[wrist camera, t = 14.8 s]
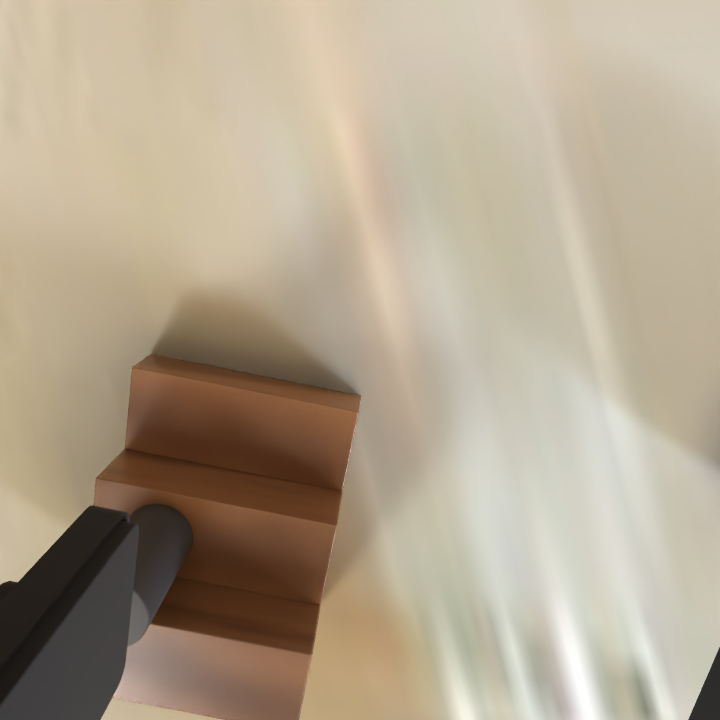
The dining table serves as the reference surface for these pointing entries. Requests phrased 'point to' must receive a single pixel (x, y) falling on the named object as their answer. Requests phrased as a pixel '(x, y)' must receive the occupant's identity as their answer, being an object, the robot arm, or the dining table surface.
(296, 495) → the step rack
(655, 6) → the dining table surface
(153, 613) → the cylinder
